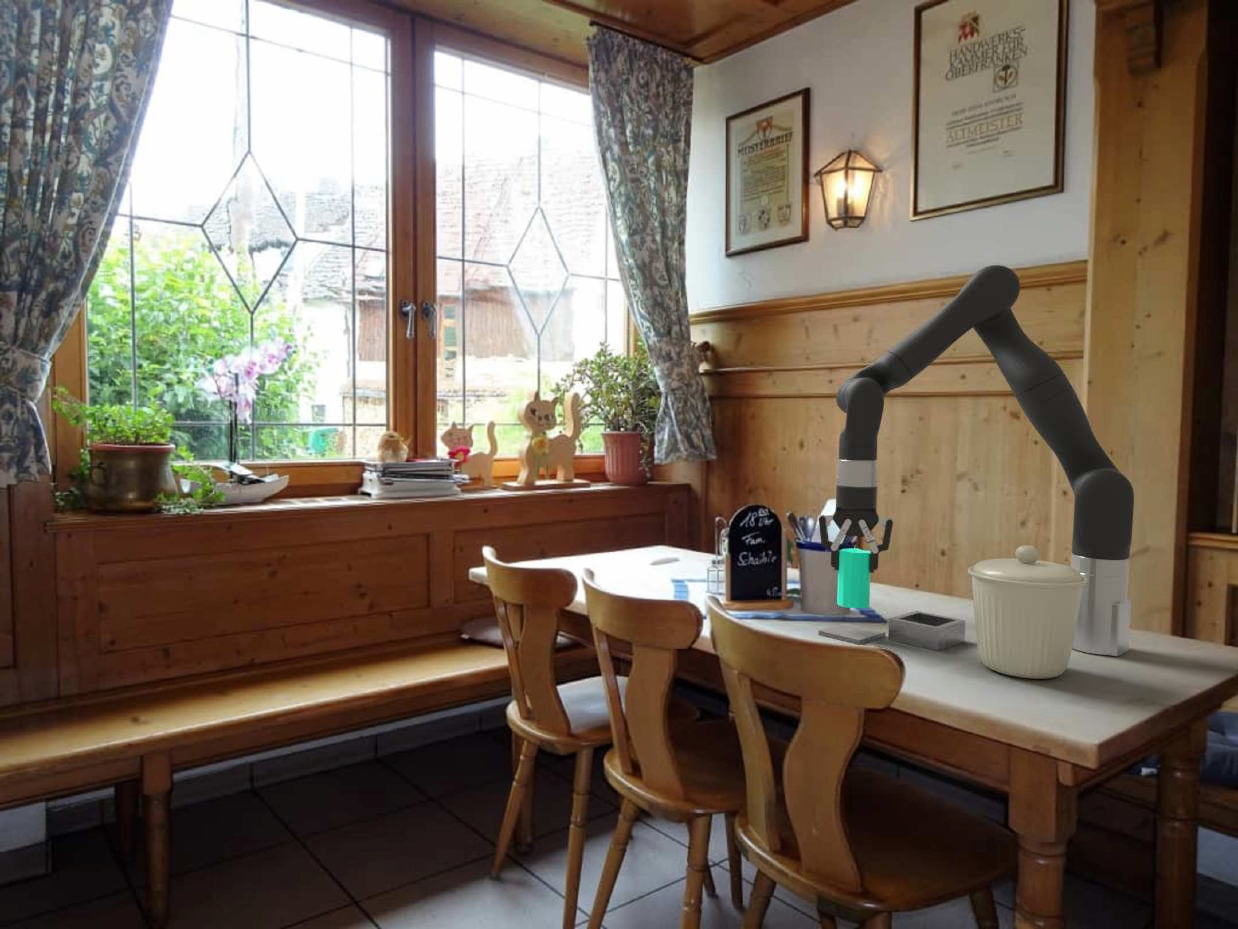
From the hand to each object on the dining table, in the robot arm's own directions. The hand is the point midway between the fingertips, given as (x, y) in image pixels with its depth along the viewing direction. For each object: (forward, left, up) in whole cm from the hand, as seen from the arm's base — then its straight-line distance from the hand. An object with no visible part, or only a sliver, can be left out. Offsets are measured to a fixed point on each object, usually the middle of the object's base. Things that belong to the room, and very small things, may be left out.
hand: (854, 570), depth 165 cm
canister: (-31, -3, -13) cm, 34 cm away
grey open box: (-11, -8, -13) cm, 18 cm away
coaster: (0, 0, -13) cm, 13 cm away
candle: (0, 0, -7) cm, 7 cm away
